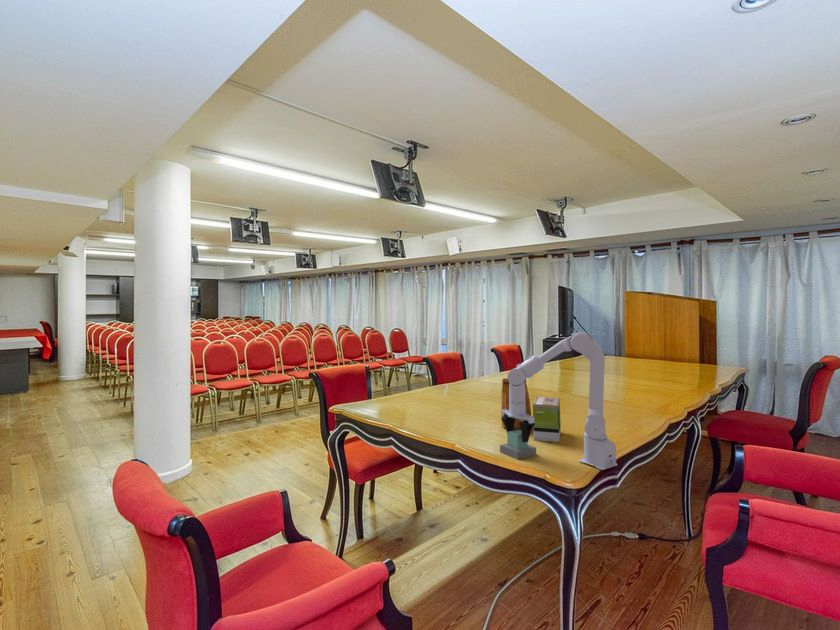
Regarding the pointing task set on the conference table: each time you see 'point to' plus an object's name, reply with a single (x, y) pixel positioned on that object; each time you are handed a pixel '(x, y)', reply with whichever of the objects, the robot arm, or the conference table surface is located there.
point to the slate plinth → (518, 451)
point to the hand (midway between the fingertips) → (517, 439)
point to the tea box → (546, 419)
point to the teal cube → (516, 439)
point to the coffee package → (506, 401)
